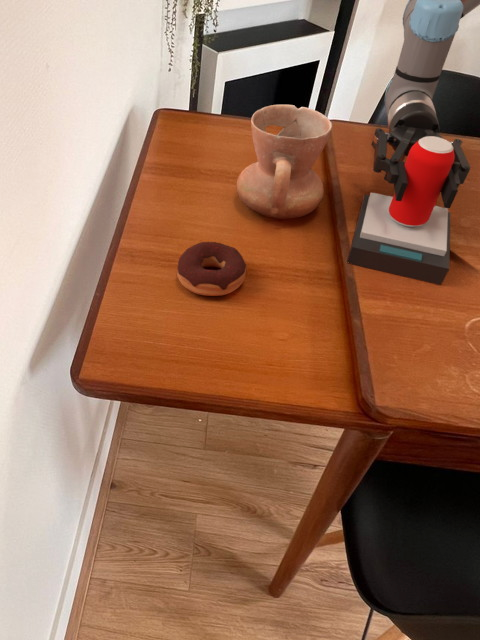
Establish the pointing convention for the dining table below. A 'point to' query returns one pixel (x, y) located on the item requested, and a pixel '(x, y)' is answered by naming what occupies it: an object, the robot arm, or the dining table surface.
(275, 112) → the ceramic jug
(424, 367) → the dining table surface
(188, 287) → the donut
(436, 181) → the beverage can
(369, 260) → the kitchen scale
